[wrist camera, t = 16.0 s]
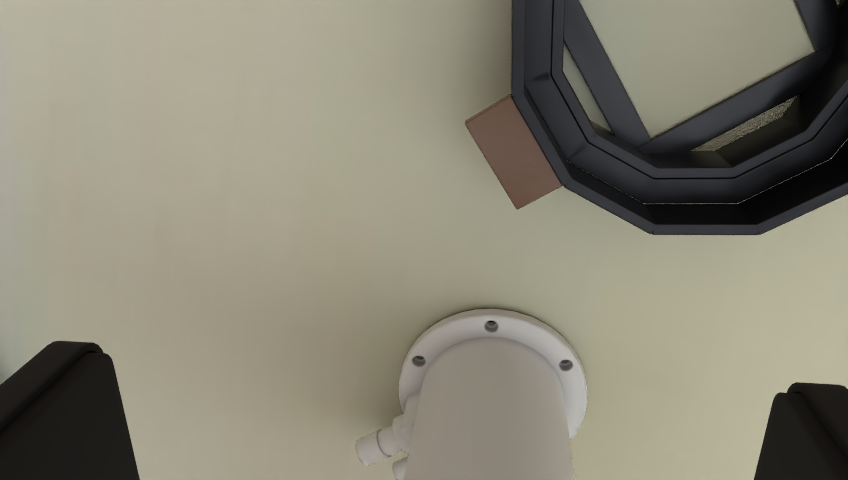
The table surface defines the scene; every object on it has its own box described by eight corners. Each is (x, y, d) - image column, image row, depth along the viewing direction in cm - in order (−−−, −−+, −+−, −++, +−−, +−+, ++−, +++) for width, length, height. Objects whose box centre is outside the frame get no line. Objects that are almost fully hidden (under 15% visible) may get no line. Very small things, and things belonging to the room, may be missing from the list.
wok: (570, 268, 41) (581, 317, 35) (403, -11, 36) (384, -6, 30) (1002, 56, 34) (1102, 76, 28) (872, -334, 28) (964, -407, 23)
